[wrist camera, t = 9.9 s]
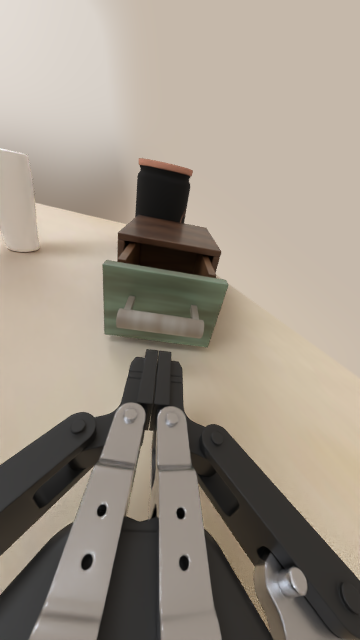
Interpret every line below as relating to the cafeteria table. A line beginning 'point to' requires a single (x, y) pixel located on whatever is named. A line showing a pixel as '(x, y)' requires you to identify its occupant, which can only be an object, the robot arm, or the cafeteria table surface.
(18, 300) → the cafeteria table surface
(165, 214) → the coffee jar
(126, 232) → the cabinet
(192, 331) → the drawer
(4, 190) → the white cup
